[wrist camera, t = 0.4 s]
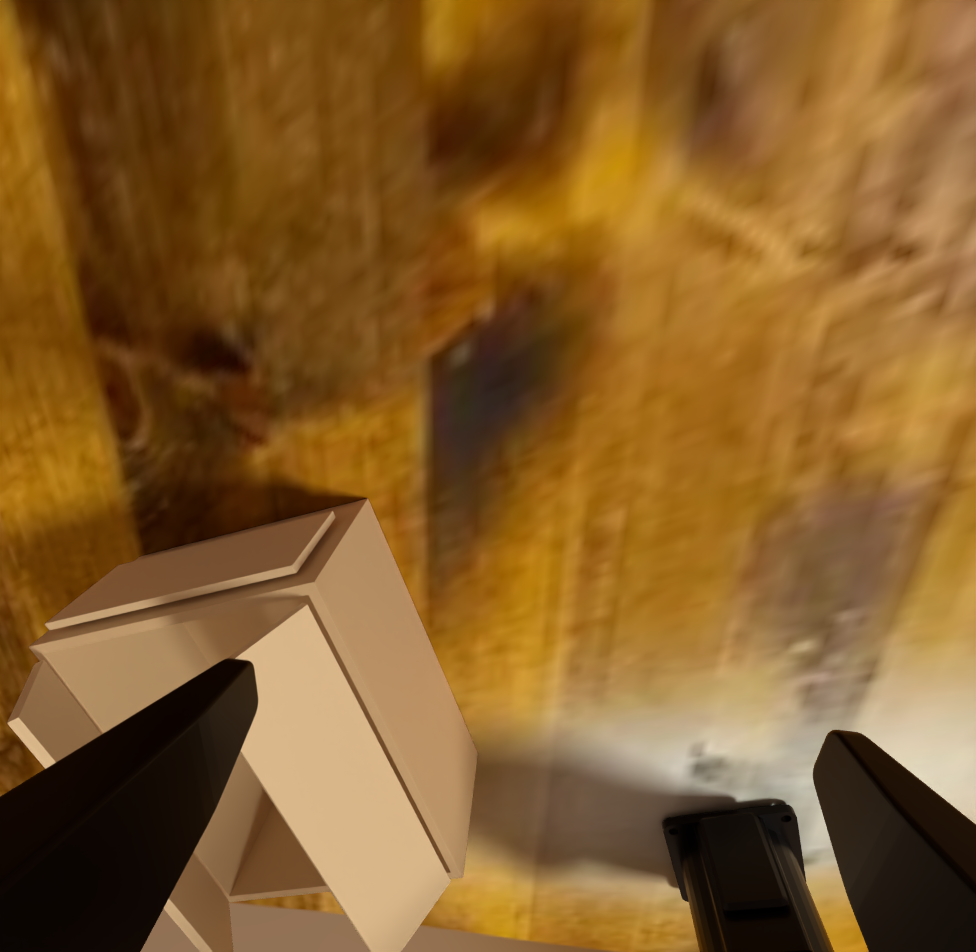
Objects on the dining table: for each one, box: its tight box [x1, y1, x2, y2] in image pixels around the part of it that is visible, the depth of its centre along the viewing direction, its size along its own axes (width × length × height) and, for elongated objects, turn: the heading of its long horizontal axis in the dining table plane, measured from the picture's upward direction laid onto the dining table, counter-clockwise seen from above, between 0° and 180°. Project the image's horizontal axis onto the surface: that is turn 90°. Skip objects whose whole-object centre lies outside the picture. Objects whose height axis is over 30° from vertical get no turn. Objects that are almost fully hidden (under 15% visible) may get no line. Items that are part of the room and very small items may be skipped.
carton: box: [29, 499, 478, 902], centre depth 24 cm, size 16×12×6 cm
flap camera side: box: [7, 660, 233, 952], centre depth 21 cm, size 14×4×1 cm
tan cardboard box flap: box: [228, 603, 451, 952], centre depth 19 cm, size 14×4×1 cm
